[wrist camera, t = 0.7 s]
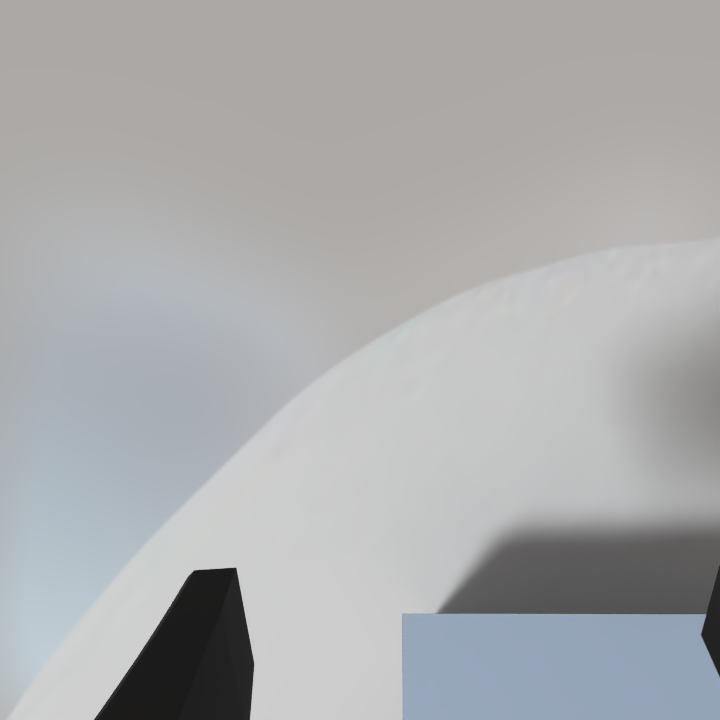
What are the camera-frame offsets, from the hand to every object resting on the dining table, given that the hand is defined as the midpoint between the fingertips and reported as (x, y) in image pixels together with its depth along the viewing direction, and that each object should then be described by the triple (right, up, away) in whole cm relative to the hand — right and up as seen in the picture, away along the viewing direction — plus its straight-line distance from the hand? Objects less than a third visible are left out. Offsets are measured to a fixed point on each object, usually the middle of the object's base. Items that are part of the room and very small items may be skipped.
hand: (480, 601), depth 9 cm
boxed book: (+7, -9, +14) cm, 19 cm away
